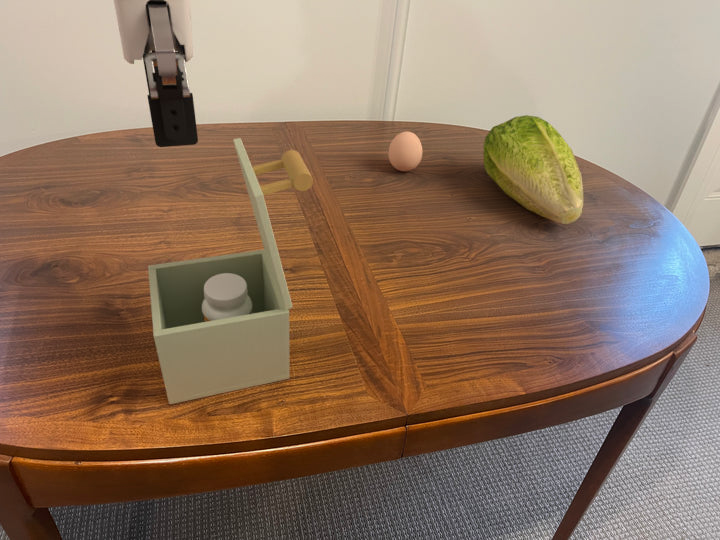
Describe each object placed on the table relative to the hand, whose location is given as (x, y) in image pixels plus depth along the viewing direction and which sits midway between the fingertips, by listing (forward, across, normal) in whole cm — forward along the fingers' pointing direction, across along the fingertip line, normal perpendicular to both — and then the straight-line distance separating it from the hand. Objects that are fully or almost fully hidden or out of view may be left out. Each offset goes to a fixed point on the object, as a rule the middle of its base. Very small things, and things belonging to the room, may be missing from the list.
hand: (172, 119), depth 46 cm
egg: (+31, -40, +43) cm, 66 cm away
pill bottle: (+30, 0, +3) cm, 30 cm away
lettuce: (+31, -24, +62) cm, 73 cm away
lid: (+12, 0, +7) cm, 14 cm away
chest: (+30, 0, +2) cm, 30 cm away
